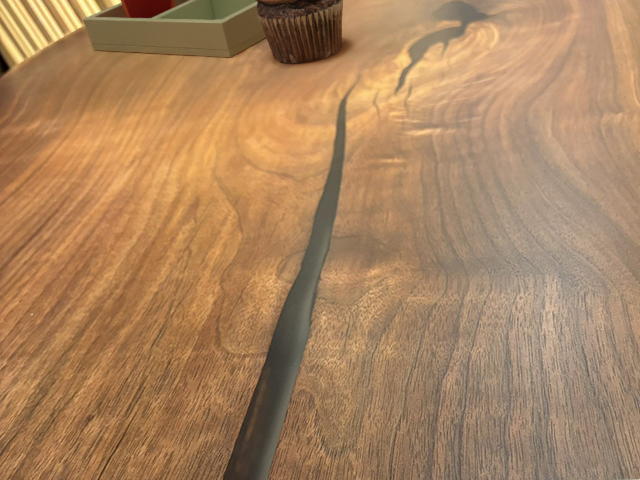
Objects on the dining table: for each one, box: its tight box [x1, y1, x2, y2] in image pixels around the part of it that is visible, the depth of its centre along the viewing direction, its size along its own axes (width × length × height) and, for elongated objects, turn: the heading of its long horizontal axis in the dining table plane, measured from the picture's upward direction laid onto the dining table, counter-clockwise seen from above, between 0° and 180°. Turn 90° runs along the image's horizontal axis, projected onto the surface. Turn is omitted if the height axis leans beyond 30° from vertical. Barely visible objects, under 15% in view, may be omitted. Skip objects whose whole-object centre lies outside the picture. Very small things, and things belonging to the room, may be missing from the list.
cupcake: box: [255, 0, 344, 64], centre depth 79 cm, size 10×10×10 cm
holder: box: [82, 0, 266, 58], centre depth 91 cm, size 12×23×4 cm, turn 61°
